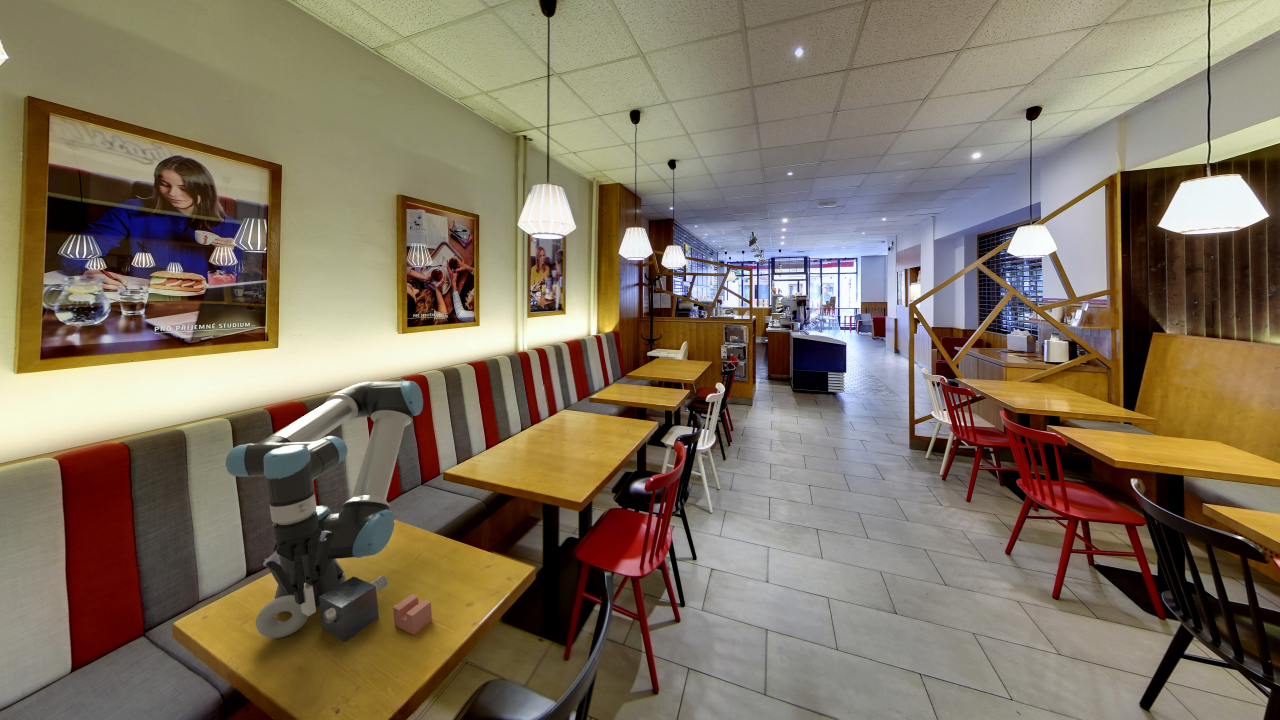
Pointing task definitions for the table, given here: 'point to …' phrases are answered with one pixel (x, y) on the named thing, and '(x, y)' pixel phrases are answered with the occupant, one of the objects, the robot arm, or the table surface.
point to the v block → (412, 614)
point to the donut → (278, 629)
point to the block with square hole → (350, 607)
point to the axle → (379, 583)
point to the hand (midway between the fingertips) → (308, 612)
